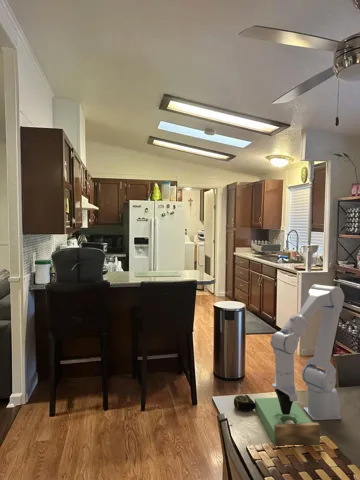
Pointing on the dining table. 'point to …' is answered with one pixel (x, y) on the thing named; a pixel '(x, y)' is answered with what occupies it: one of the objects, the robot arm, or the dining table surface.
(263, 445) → the dining table surface
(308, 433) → the end rail
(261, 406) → the green
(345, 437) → the dining table surface
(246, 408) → the tape measure
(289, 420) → the ball
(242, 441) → the dining table surface
